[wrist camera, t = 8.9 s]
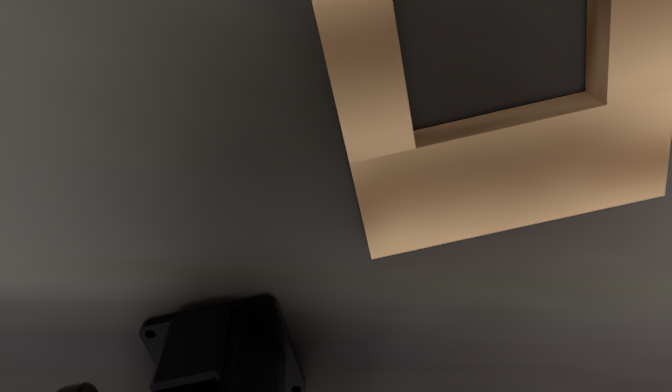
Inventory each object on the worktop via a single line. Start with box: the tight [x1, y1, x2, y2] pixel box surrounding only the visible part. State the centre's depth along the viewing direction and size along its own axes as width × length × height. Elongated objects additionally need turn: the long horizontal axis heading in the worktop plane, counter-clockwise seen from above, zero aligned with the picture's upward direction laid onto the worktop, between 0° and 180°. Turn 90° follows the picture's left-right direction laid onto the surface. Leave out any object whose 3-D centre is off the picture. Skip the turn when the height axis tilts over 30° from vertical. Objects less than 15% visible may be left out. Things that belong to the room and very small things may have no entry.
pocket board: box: [312, 0, 672, 259], centre depth 18 cm, size 16×12×2 cm
